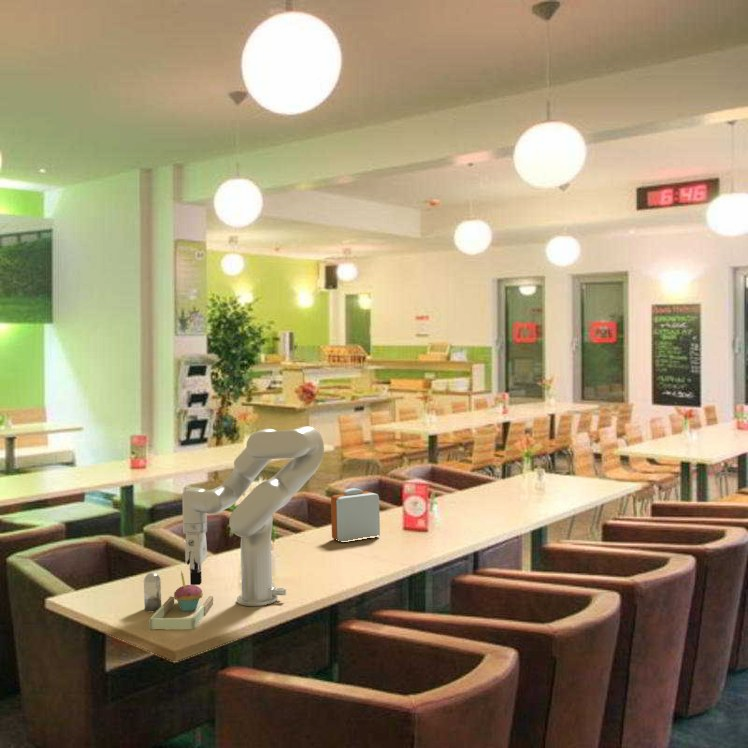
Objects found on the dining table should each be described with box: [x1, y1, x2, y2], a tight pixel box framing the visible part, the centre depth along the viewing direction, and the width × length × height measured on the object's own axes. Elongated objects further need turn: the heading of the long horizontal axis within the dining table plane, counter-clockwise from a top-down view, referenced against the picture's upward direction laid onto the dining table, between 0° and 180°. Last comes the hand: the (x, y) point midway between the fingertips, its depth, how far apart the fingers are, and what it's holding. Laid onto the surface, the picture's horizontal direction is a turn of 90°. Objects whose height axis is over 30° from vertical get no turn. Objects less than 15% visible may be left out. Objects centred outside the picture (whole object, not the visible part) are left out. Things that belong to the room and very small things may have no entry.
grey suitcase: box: [330, 487, 381, 542], centre depth 341 cm, size 18×9×21 cm, turn 120°
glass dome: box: [143, 572, 162, 612], centre depth 254 cm, size 5×5×11 cm
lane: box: [161, 595, 214, 617], centre depth 253 cm, size 13×11×2 cm
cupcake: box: [173, 570, 204, 612], centre depth 254 cm, size 9×8×12 cm
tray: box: [148, 604, 205, 630], centre depth 241 cm, size 13×12×3 cm
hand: (196, 584), depth 265 cm, fingers closed
